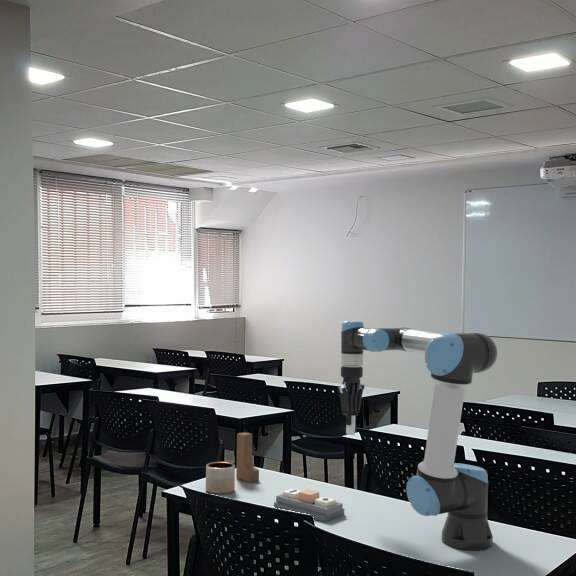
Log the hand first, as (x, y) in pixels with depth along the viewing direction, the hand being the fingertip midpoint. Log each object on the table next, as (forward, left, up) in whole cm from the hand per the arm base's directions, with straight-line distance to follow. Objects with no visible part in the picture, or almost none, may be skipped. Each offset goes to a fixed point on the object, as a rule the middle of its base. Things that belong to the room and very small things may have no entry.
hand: (350, 434), depth 248 cm
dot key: (-4, +9, -24) cm, 26 cm away
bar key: (+6, +18, -24) cm, 31 cm away
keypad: (+1, +14, -26) cm, 30 cm away
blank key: (+1, +14, -23) cm, 27 cm away
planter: (+30, +42, -27) cm, 58 cm away
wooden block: (+44, +30, -27) cm, 60 cm away
